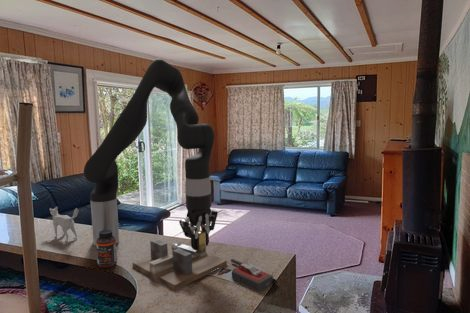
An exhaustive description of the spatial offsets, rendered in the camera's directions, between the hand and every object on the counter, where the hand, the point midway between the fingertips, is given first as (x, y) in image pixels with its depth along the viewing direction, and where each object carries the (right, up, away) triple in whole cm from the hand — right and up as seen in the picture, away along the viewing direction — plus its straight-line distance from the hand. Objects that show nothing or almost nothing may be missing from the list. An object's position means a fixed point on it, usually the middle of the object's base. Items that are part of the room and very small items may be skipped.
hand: (200, 246), depth 104 cm
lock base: (-8, -8, +7) cm, 13 cm away
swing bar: (-4, -2, +3) cm, 5 cm away
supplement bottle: (-32, -8, +9) cm, 34 cm away
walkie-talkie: (+14, -9, 0) cm, 17 cm away
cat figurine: (-57, -5, +33) cm, 66 cm away
